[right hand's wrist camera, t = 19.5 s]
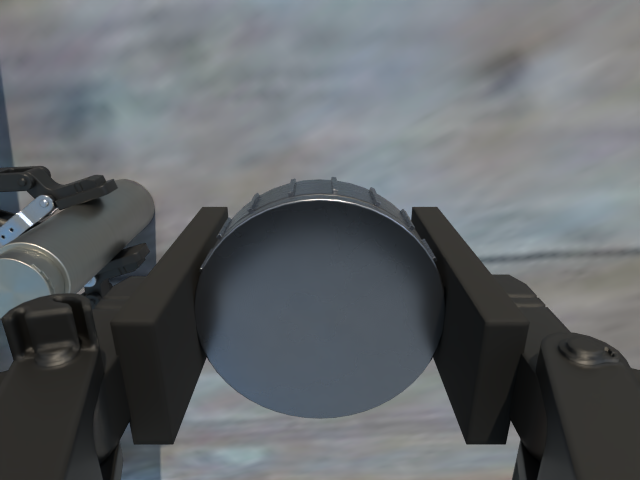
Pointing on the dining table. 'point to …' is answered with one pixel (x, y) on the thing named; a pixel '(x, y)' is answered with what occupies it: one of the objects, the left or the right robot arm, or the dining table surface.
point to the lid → (319, 300)
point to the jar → (72, 245)
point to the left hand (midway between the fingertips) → (127, 220)
